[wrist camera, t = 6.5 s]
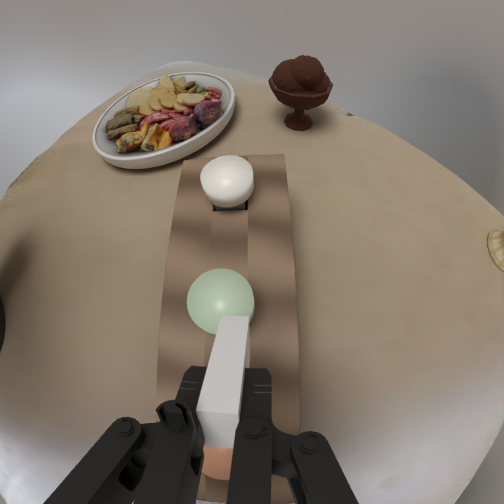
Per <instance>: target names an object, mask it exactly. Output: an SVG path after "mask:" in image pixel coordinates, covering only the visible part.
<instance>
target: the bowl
mask: <svg viewBox="0 0 504 504" xmlns="http://www.w3.org/2000/svg"><path fill="white" fill-rule="evenodd" d="M234 107H235V93H234V89H233V87H232V86H231V84H230V83H229V82H228V81H226V80H225V79H223V78H221V77H219V76H217V75H214V74H209V73H203V72H184V73H176V74H171V75H167V76H163V77H159V78H156V79H153V80H151V81H148V82H146V83H144V84H142V85H139V86H137V87H136V88H134V89H132V90H130V91H129V92H127V93H126V94H124V95H123V96H121V97H120V98H119V99H117V100H116V101H115V102H114V103H113V104H112V105H111V106H110V107H109V108H108V109H107V110H106V111H105V112H104V113H103V114H102V116H101V117H100V119H99V120H98V122H97V124H96V126H95V128H94V131H93V137H92V141H93V146H94V148H95V150H96V151H97V153H98V154H99V155H100V156H101V157H102V158H103V159H104V160H105V161H106V162H108V163H110V164H112V165H114V166H117V167H121V168H127V169H145V168H152V167H157V166H161V165H165V164H168V163H171V162H174V161H177V160H179V159H182V158H184V157H186V156H188V155H190V154H192V153H194V152H196V151H197V150H199V149H201V148H202V147H204V146H205V145H207V144H208V143H209V142H211V141H212V140H213V139H214V138H215V137H216V136H218V135H219V134H220V132H221V131H222V130H223V129H224V128H225V127H226V125H227V124H228V122H229V120H230V119H231V117H232V114H233V111H234Z"/></svg>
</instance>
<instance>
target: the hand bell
mask: <svg viewBox="0 0 504 504" xmlns="http://www.w3.org/2000/svg"><path fill="white" fill-rule="evenodd" d="M487 245H488V250H489V253H490V256H491V258H492V260H493V262H494V263H495V265H496V266H497V267H498V268H499V269H500V270H502V271H504V232H500V231H497V230H494V231H491V232H490V233H489V235H488V239H487Z"/></svg>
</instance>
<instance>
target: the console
mask: <svg viewBox="0 0 504 504" xmlns="http://www.w3.org/2000/svg"><path fill="white" fill-rule="evenodd" d="M238 157H241V158H244V159H245V160H247V161H248V162H249V163H250V165H251V166H252V169H253V179H254V190H253V192H252V194H251V196H250V197H249V198H248V199H247V210H232V211H216V208H215V205H214V204H212V203H211V202H210V201H209V200H208V199H207V198H206V196H205V193H204V190H203V187H202V184H201V180H200V175H201V172H202V170H203V168H204V167H205V165H206V164H207V163H209V162H210V161H211V160H213V159H215V158H218V157H215V158H202V159H192V160H184V162H183V166H182V171H181V176H180V181H179V186H178V192H177V197H176V203H175V208H174V214H173V220H172V226H171V233H170V239H169V246H168V254H167V261H166V269H165V278H164V287H163V296H162V307H161V318H160V331H159V347H158V369H157V407H158V406H159V405H160V404H161V403H163V402H165V401H168V400H175V398H176V395H177V392H178V390H179V387H180V384H181V382H182V378H183V375H184V373H185V372H186V371H187V370H188V368H189V367H190V366H202V367H208V363H209V359H210V356H211V352H212V348H213V345H214V341H215V337H216V336H213V335H211V334H209V333H207V332H206V331H204V330H203V329H201V328H200V327H199V326H197V325H196V324H195V323H194V321H193V320H192V318H191V317H190V315H189V312H188V309H187V296H188V292H189V289H190V287H191V285H192V284H193V282H194V281H195V280H196V279H197V278H198V277H199V276H200V275H202V274H203V273H205V272H207V271H210V270H213V269H220V268H223V269H230V270H233V271H235V272H237V273H239V274H241V275H242V276H243V277H244V278H245V279H246V280H247V281H248V283H249V284H250V286H251V288H252V291H253V296H254V301H255V311H254V316H253V318H252V320H251V322H250V324H249V328H250V365H249V368H267V369H268V371H269V373H270V374H271V376H272V422H273V424H274V426H275V427H276V428H277V429H279V430H280V431H282V432H285V433H288V434H292V435H296V436H297V435H298V434H300V382H299V345H298V320H297V300H296V283H295V267H294V253H293V240H292V227H291V216H290V205H289V194H288V184H287V175H286V165H285V156H284V155H249V156H238ZM159 421H160V419H159V416H158V414H157V422H159ZM228 486H229V480H219V479H215V478H212V477H209V476H207V475H205V474H204V473H202V472H201V477H200V483H199V488H198V493H197V498H196V500H202V501H211V502H221V503H226V502H227V494H228ZM286 503H295V501H294V498H293V495H292V492H291V489H290V486H289V484H288V481H287V478H285V477H281V476H277V475H273V474H272V476H271V504H286Z"/></svg>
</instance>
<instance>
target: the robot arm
mask: <svg viewBox="0 0 504 504" xmlns="http://www.w3.org/2000/svg"><path fill="white" fill-rule="evenodd" d="M4 327H5V317H4V308H3V304H2V301H1V299H0V349H1V346H2V342H3V336H4ZM249 365H250V328H249V316H221V319H220V323H219V326H218V330H217V334H216V337H215V341H214V345H213V348H212V352H211V356H210V359H209V363H208V367H202V366H190V367H189V368H188V370H187V371H186V372H185V373H184V375H183V378H182V382H181V384H180V387H179V390H178V392H177V395H176V398H175V400H168V401H165V402H163V403H161V404H160V405H159V406H158V407H157V409H156V412H157V414H158V416H159V419H160V421H159V422H156V423H146V424H140V423H139V422H138V421H137V420H136V419H134V418H131V417H122V418H119V419H117V420H116V421H115V422H113V423H112V425H111V426H110V427H109V428H108V429H107V430H106V432H105V433H104V434H103V435H102V436H101V437H100V439H99V440H98V441H97V442H96V443H95V444H94V446H93V447H92V448H91V449H90V450H89V451H88V453H87V454H86V455H85V456H84V457H83V458H82V460H81V461H80V462H79V463H78V464H77V465H76V466H75V468H74V469H73V470H72V471H71V472H70V473H69V475H68V476H67V477H66V478H65V479H64V480H63V482H62V483H61V484H60V485H59V486H58V487H57V488H56V490H55V491H54V492H53V493H52V494H51V495H50V497H49V498H48V499H47V500H46V501H45V502H44V503H43V504H132V502H133V501H134V499H135V501H134V504H196V498H197V493H198V488H199V483H200V477H201V472H202V467H203V462H204V451H203V447H204V443H205V444H206V446H209V447H219V448H232V449H233V454H232V462H231V470H230V478H229V486H228V494H227V502H226V504H271V476H272V474H273V475H277V476H281V477H285V478H287V481H288V484H289V486H290V489H291V492H292V495H293V498H294V501H295V504H359V503H358V501H357V499H356V497H355V495H354V493H353V491H352V489H351V487H350V485H349V483H348V481H347V479H346V477H345V475H344V473H343V471H342V469H341V467H340V465H339V463H338V461H337V459H336V457H335V455H334V453H333V451H332V449H331V447H330V445H329V443H328V441H327V439H326V438H325V437H324V436H323V435H321V434H320V433H317V432H312V431H309V432H303V433H300V434H298V435H297V436H296V435H292V434H288V433H285V432H282V431H280V430H279V429H277V428H276V427H275V426H274V424H273V422H272V376H271V374H270V373H269V371H268V369H267V368H249Z"/></svg>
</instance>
